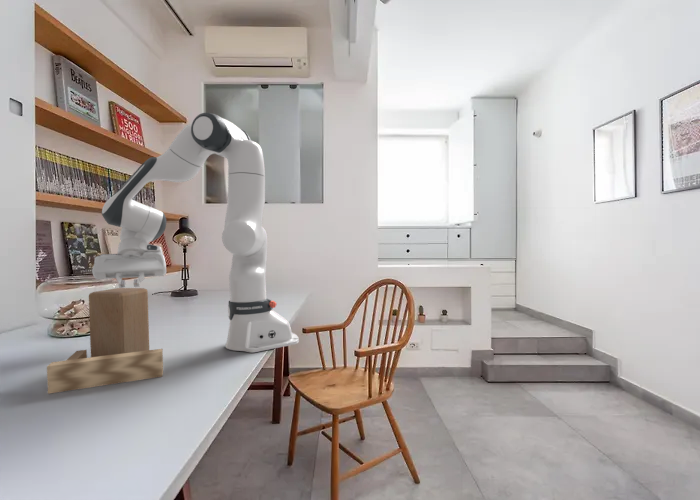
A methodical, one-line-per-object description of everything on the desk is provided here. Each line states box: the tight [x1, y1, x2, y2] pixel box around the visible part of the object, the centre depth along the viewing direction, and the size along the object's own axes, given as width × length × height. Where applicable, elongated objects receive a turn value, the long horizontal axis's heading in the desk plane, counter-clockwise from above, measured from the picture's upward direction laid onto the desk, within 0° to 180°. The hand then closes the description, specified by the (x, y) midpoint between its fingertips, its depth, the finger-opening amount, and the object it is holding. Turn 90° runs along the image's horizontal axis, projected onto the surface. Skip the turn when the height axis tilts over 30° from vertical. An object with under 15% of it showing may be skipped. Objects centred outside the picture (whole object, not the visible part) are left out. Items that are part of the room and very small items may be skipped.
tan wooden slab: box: [46, 348, 164, 395], centre depth 86 cm, size 22×11×6 cm, turn 114°
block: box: [88, 287, 150, 357], centre depth 96 cm, size 10×10×20 cm
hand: (129, 286), depth 109 cm, fingers open, 3 cm apart
